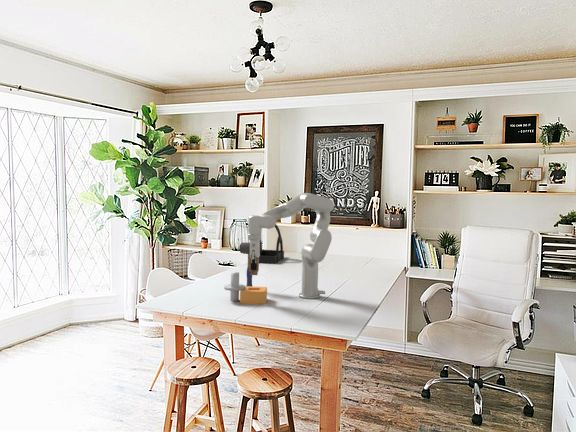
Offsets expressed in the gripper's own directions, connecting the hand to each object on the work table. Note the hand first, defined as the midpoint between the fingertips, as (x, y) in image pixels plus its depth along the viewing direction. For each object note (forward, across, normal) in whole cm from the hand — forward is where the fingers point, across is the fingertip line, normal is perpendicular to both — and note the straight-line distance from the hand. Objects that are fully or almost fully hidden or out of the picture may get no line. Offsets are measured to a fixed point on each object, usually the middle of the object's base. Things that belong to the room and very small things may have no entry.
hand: (254, 268), depth 264 cm
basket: (+19, +138, +3) cm, 139 cm away
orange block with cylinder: (+19, 0, +5) cm, 19 cm away
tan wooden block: (+3, 0, 0) cm, 3 cm away
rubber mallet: (+19, +27, +6) cm, 33 cm away
